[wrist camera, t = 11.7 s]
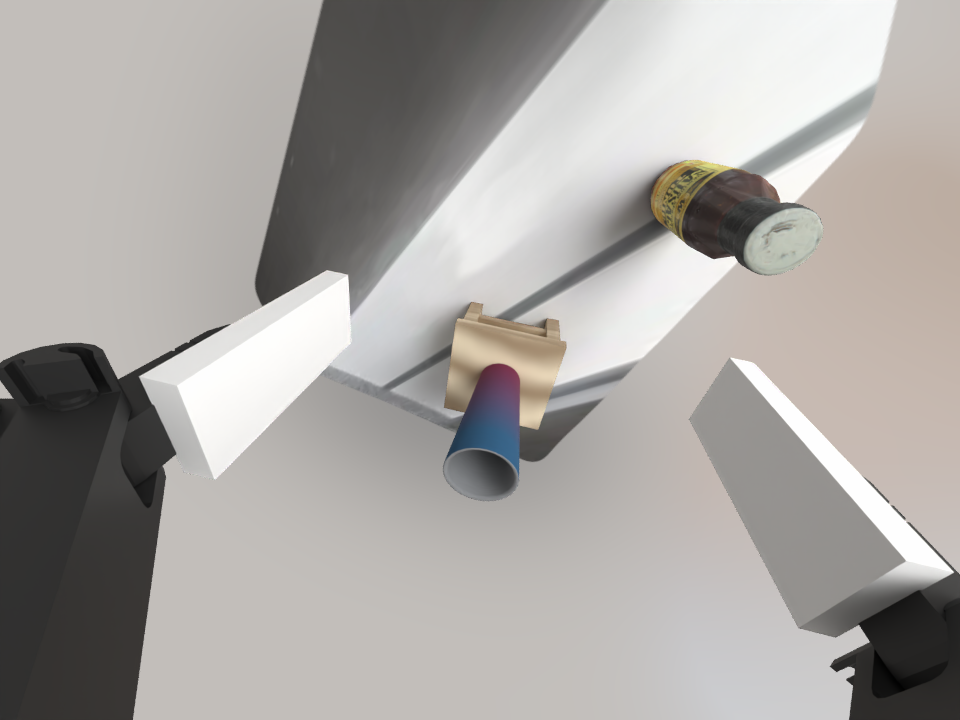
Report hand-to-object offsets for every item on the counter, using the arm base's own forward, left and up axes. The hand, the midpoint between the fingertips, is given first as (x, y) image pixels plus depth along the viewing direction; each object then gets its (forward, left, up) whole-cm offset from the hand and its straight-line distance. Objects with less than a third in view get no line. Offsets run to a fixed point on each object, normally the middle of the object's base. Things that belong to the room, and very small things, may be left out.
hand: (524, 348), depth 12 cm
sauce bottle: (-4, +14, -33) cm, 36 cm away
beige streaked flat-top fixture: (+19, 0, -33) cm, 38 cm away
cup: (+19, 0, -25) cm, 31 cm away
